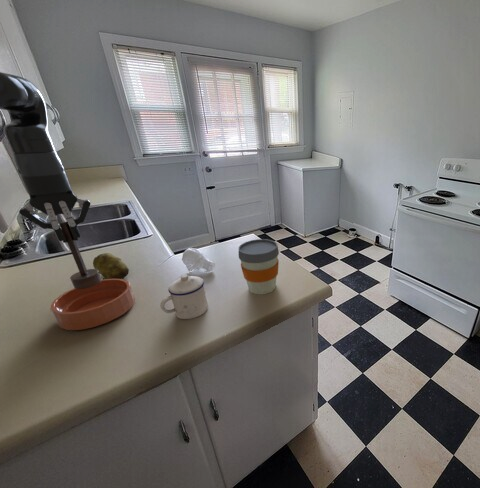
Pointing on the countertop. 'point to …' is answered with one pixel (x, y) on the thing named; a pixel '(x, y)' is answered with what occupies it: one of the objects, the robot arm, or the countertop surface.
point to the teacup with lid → (187, 297)
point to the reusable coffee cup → (259, 264)
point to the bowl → (93, 304)
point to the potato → (110, 266)
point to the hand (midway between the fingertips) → (70, 240)
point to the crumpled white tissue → (196, 260)
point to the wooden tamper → (80, 264)
